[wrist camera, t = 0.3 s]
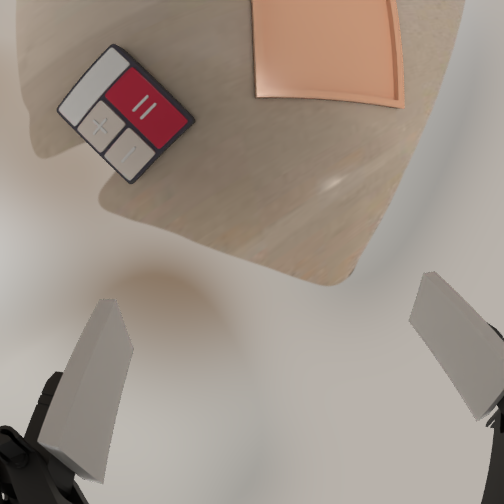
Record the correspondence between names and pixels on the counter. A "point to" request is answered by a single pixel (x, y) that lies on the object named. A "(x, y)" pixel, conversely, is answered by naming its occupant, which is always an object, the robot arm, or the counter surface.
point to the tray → (328, 50)
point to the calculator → (124, 113)
